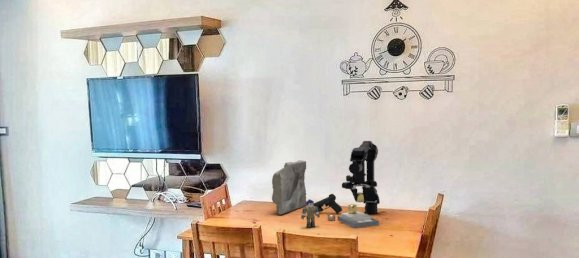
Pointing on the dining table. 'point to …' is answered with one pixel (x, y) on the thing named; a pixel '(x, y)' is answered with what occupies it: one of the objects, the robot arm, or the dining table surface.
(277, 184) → the fossil
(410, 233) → the dining table surface
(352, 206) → the brass short cylinder
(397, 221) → the dining table surface
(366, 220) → the scale
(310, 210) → the toy
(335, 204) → the handgun
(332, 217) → the brown short cylinder
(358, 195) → the gold cylinder
